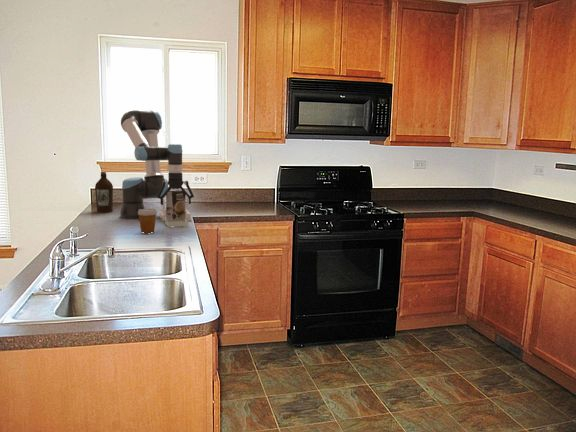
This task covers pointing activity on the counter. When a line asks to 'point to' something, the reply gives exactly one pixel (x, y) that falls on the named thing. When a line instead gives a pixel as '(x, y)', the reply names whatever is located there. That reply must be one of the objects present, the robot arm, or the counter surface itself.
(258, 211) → the counter surface
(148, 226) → the glass of beer
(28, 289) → the counter surface
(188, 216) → the plastic food container
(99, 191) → the olive oil
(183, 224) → the tray
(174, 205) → the coffee box
